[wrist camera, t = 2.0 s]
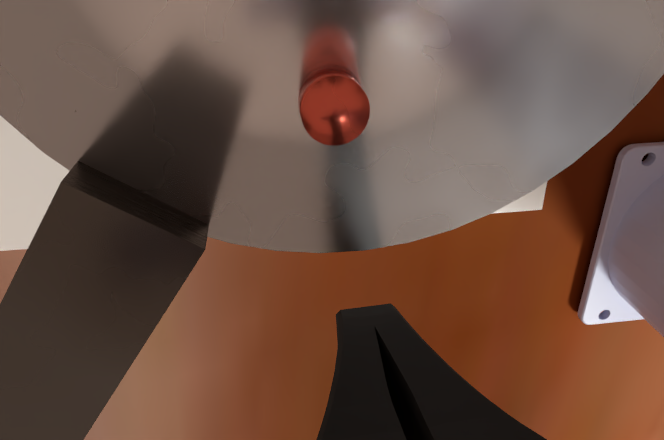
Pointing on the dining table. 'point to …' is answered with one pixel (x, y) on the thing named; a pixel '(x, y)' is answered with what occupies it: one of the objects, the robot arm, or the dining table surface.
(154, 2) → the lid
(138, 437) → the dining table surface
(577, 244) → the dining table surface
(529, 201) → the board
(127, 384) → the dining table surface
